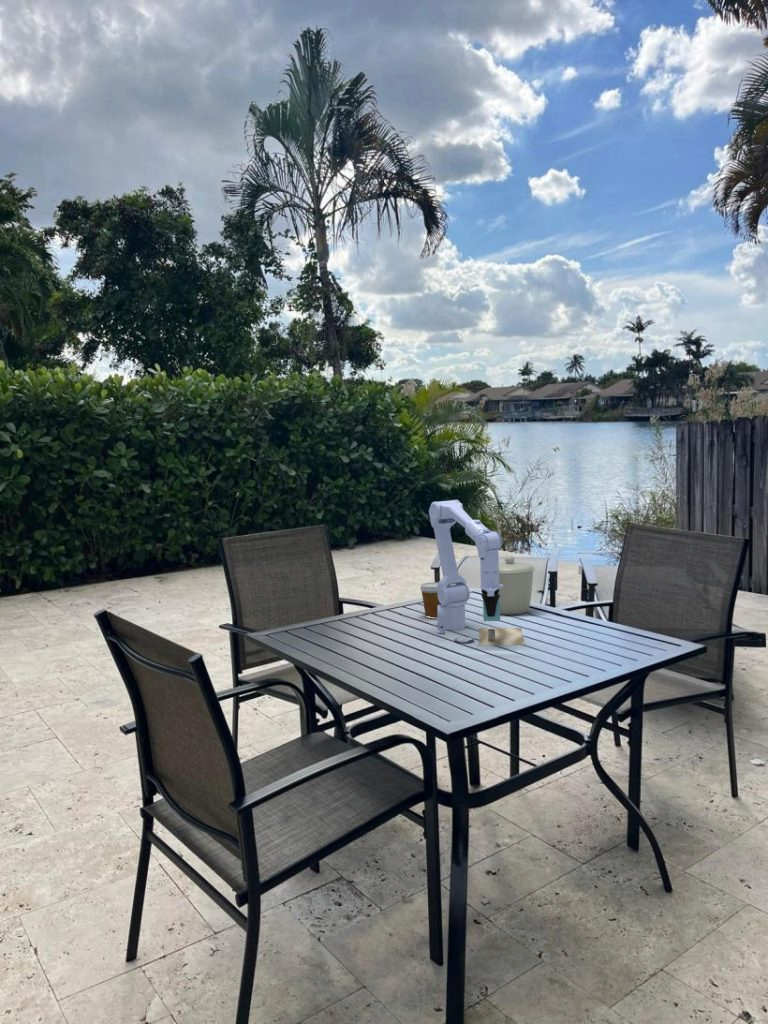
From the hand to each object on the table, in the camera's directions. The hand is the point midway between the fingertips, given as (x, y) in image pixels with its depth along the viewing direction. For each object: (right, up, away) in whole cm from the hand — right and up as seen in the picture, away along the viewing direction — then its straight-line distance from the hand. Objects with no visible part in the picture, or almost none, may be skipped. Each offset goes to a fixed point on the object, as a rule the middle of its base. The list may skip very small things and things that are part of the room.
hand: (491, 614), depth 227 cm
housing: (0, -2, 0) cm, 2 cm away
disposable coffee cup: (-15, -7, +39) cm, 42 cm away
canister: (+14, -5, +41) cm, 44 cm away
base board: (+4, -9, +6) cm, 11 cm away
